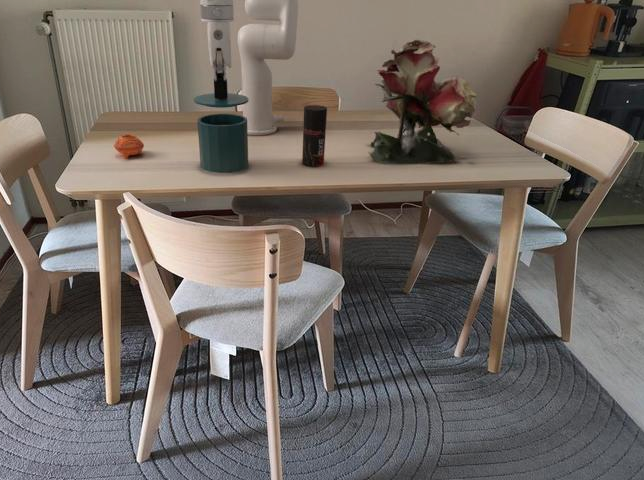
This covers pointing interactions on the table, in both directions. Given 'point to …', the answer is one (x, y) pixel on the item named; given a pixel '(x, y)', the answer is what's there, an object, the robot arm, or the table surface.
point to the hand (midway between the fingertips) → (221, 96)
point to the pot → (128, 145)
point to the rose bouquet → (420, 106)
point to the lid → (221, 100)
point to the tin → (223, 142)
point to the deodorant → (314, 135)
